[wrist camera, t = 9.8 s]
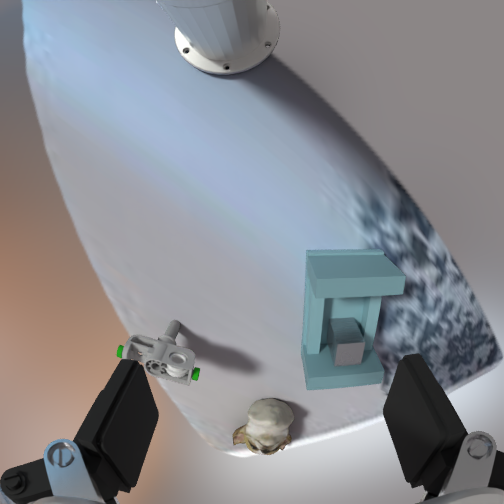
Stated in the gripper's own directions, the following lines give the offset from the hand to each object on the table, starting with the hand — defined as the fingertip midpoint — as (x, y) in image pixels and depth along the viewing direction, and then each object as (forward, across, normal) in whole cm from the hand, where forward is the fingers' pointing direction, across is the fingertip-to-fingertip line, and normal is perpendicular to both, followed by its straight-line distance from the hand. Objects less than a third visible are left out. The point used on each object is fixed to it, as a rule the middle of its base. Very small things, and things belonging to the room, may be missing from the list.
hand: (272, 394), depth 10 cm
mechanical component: (+28, +13, +15) cm, 35 cm away
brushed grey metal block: (+27, -10, +15) cm, 32 cm away
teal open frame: (+28, -10, +12) cm, 32 cm away
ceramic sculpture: (+28, 0, +35) cm, 45 cm away
